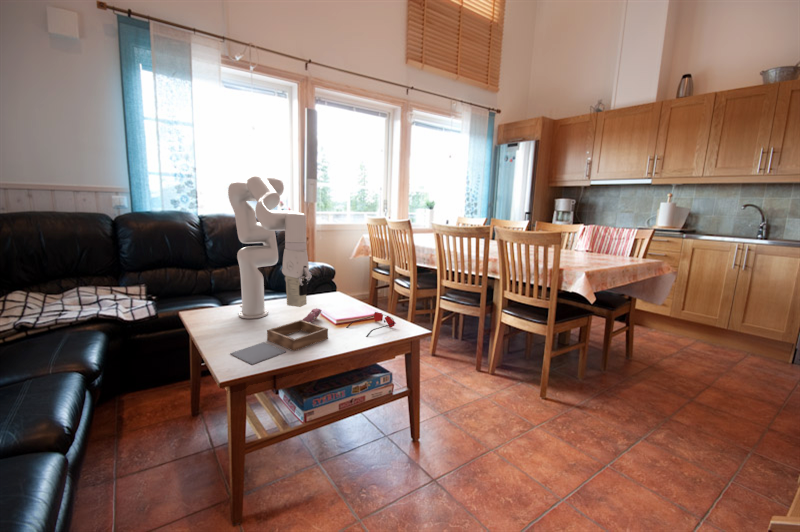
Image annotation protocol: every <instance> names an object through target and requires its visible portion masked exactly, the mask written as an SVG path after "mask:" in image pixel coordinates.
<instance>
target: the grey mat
mask: <svg viewBox="0 0 800 532" xmlns="http://www.w3.org/2000/svg"><path fill="white" fill-rule="evenodd" d="M285 353H286V350H284V349H281V348H279V347H276V346H274V345H271V344H270V343H267V342H264V341H263V342H259V343H257V344H254V345H251V346H247V347H245V348H242V349H238V350H237V351H233V352H230V355H231V356H233V357H235V358H237V359H238V360H239V359H240V360H241V361H244V362H245V363H247V362H248V364H249V363H250V364H249V365H251V364H252V365H251V366H254V365H255V363H256V364H259V363H261V362H264V361H266V360H270V359H272V358H275V357H277V356H279V355H282V354H285ZM274 356H275V357H274ZM258 362H259V363H258Z"/></svg>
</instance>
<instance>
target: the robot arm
mask: <svg viewBox="0 0 800 532" xmlns="http://www.w3.org/2000/svg"><path fill="white" fill-rule="evenodd" d="M284 187H285V185H284V183H283V180H282V179H281V178H280V177H278V176H276V175H268V174H267V175H265V174H264V175H263V174H255V175H251V176H249V177H248V178H247V180H246V181H245V180H239V181H238V180H237V181H233V182H231V183H230V184H229V185H228V187H227V188H228V189H227V190H228V191H227V195H228V196H227V197H228V200H229V203H230V205H231V208H232V210H233V212H234V217H235V225H236V230H237V231H236V233H237V237H238V240H239V242H240V243H242V244H245V245H246V244H248V245H249V244H262V245H252V246H251V245H250V246H245V247H242V248H240V249H239V250H238V251H237V253H236V254H237V255H236V259H237V262H238V265H239V273H240V289H241V290H240V291H241V304H240V305H239V308H241V311H239V313H238V317H239V318H242V319H248V320H249V319H250V320H251V319H252V320H253V319H260V318H263V317H267V316H268V315H269V310H268V309H266V307H265V286H264V285H265V284H264V276H263V273H262V272H261V271H260V270H259V269H258V268H261V267H263V268H264V267H271V266H275V265H277V263H278V261H279V250H278V249H279V248H278V242H277V237H276V235H277V234H276V232H278V231H279V232H280V231H281V232H282V231H284V235H285V236H284V239H285V241H284V246H285V247H284V250H283V256H282V268H281V273H282V274H283V278H284V281H285V282H286V274H287V276H289V277H293V278H298V279H299V282H300V285H299V295H300V296H302V295H306V296H307V294H308V284H309V283H310V281H311V279H312V274H311V272H310V269H309V266H310V265H309V256H308V251H307V215H306V214H305V213H303V212H298V211H295V210H274V209H275V208H276V207H277V206H278V205H279V204H280V202H281V197H280V196H281V195H282V194H283V193H284V189H285V188H284ZM248 202H256V204H255V209H254V208H253V207H252V206H251V204H250V203H248ZM302 275H303V276H302ZM302 278H304V280H303V281H302Z"/></svg>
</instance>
